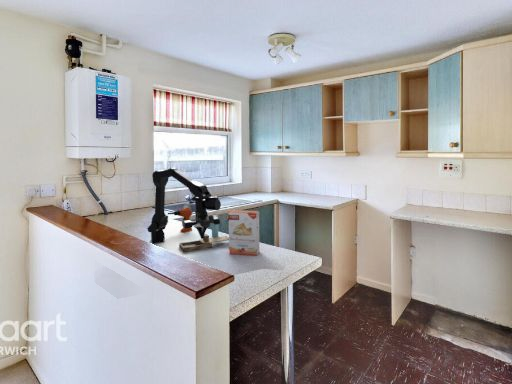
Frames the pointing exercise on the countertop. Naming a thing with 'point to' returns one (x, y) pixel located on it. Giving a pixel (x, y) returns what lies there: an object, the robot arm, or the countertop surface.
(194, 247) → the wooden frame piece
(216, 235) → the teal cylinder
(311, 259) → the countertop surface
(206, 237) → the lid
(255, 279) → the countertop surface
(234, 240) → the cracker box
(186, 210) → the toy drill
